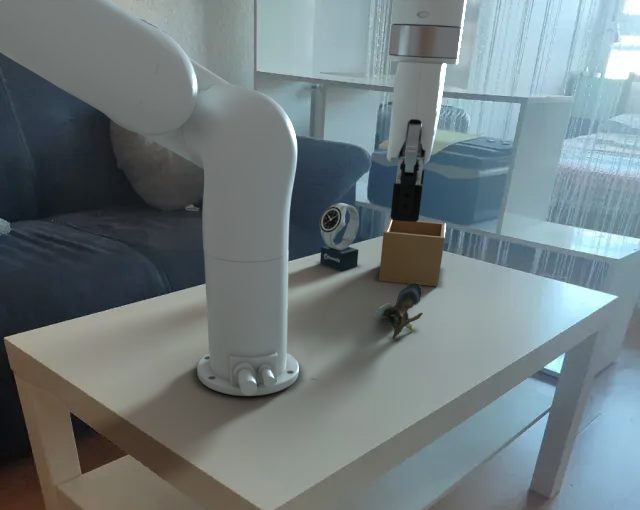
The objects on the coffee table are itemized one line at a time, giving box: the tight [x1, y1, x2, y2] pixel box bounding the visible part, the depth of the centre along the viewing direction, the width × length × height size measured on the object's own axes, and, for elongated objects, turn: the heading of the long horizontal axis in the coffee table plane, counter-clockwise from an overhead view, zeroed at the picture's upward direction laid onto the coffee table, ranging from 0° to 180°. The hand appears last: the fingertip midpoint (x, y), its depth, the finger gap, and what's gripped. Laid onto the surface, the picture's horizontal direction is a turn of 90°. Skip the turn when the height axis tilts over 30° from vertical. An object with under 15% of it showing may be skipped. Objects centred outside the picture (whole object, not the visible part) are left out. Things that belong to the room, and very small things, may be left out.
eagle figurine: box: [374, 282, 424, 340], centre depth 92 cm, size 8×7×9 cm
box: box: [378, 217, 447, 287], centre depth 114 cm, size 10×10×8 cm
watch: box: [319, 202, 360, 271], centre depth 116 cm, size 6×8×11 cm
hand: (406, 210), depth 77 cm, fingers open, 9 cm apart
